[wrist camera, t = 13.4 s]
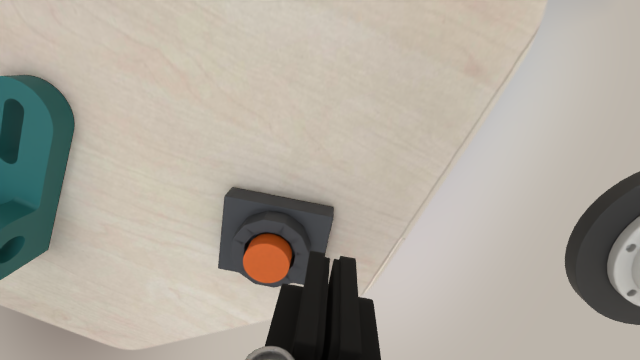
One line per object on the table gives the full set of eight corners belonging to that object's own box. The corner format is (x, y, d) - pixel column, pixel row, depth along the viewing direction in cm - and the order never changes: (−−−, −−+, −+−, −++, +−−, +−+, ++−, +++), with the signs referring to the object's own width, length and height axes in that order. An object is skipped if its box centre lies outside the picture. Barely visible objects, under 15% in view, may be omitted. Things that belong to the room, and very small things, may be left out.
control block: (333, 206, 30) (333, 227, 26) (318, 273, 33) (315, 300, 29) (232, 186, 30) (217, 204, 26) (225, 255, 33) (210, 280, 29)
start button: (295, 237, 27) (292, 248, 26) (288, 274, 29) (285, 287, 27) (250, 229, 27) (245, 239, 26) (245, 266, 29) (240, 278, 27)
